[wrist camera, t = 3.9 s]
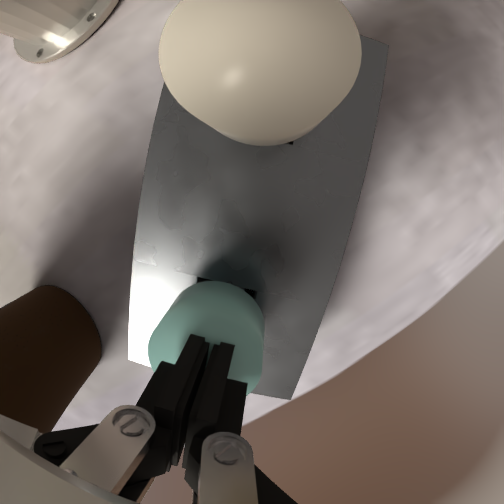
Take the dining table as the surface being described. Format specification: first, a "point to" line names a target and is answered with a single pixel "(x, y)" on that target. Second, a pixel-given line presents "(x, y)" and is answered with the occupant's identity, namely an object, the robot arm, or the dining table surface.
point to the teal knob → (213, 328)
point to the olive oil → (44, 355)
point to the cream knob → (260, 64)
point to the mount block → (253, 220)
